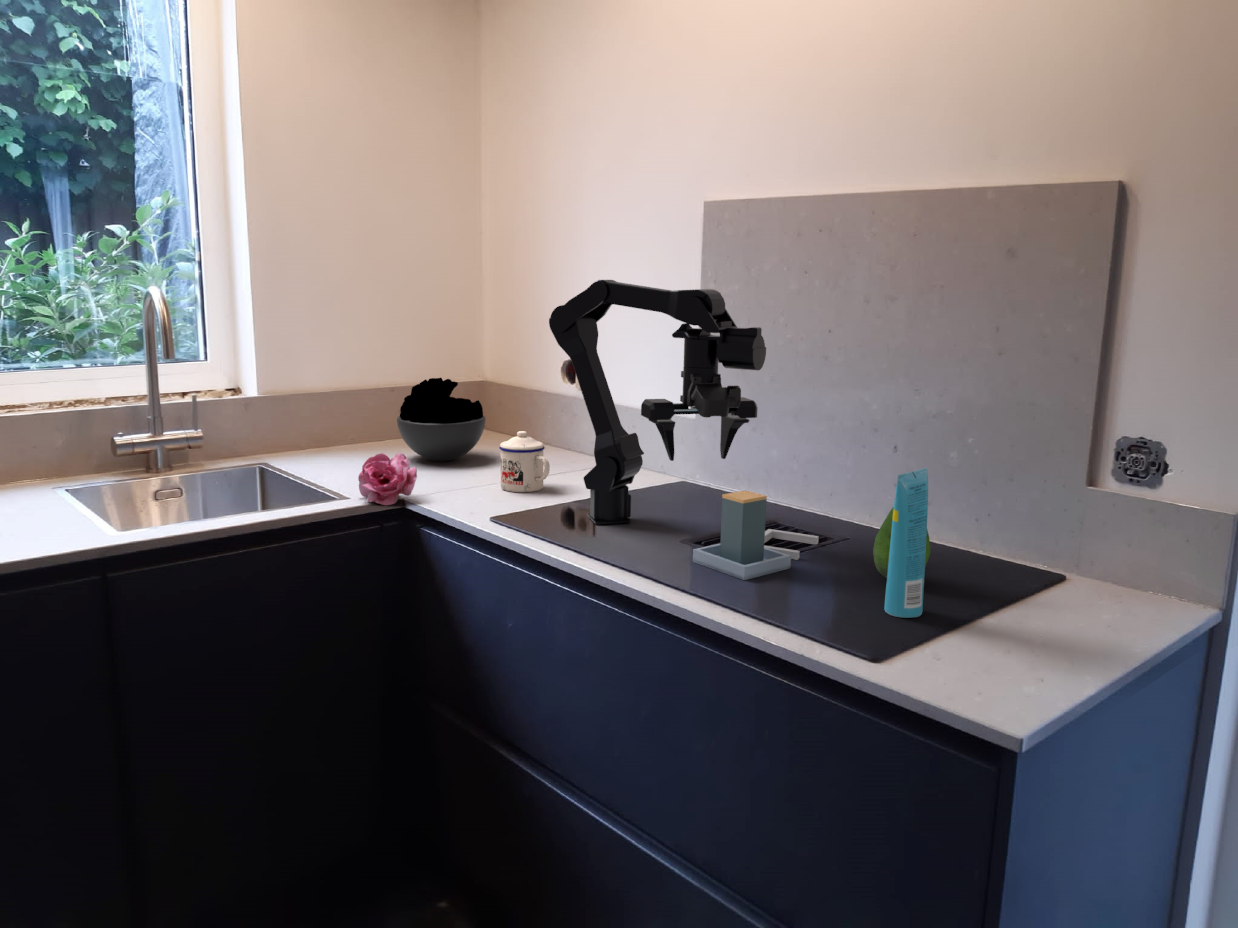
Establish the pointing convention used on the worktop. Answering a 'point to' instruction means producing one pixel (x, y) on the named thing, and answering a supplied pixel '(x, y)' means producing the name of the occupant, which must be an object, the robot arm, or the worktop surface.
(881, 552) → the avocado
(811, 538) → the frame
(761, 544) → the block
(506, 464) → the teacup with lid
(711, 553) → the tray
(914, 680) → the worktop surface
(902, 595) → the tube
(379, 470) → the flower
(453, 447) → the bowl of black rocks
